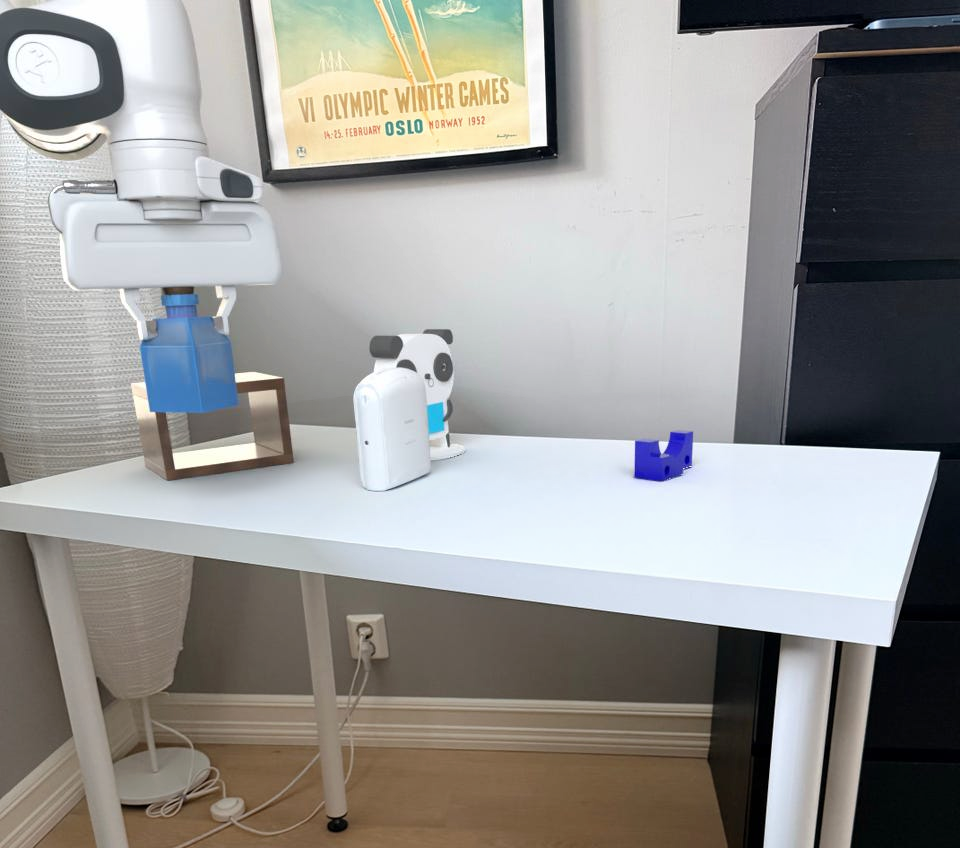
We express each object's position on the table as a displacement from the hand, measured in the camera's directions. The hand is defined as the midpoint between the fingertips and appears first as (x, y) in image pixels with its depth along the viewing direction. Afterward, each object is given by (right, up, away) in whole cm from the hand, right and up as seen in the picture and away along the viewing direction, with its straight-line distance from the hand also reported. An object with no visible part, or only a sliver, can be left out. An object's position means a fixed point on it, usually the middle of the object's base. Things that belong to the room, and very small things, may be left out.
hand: (185, 337), depth 91 cm
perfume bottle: (0, -7, +2) cm, 7 cm away
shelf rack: (-5, -7, +28) cm, 29 cm away
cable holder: (+50, -12, +11) cm, 52 cm away
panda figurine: (+21, -6, +29) cm, 36 cm away
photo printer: (+20, -12, +13) cm, 27 cm away
